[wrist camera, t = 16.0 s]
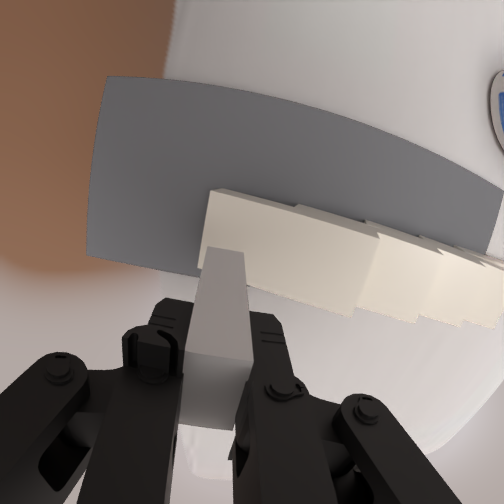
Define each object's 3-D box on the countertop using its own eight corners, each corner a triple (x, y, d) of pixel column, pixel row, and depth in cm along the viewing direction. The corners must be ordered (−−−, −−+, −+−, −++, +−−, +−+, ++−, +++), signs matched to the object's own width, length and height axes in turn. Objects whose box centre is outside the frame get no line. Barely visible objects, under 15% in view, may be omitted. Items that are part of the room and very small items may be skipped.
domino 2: (294, 207, 18) (443, 255, 16) (298, 203, 20) (436, 247, 17) (275, 281, 20) (414, 323, 18) (280, 271, 21) (410, 312, 19)
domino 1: (210, 190, 17) (380, 239, 15) (222, 188, 19) (376, 232, 17) (197, 267, 19) (351, 318, 17) (209, 259, 21) (351, 304, 19)
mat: (109, 77, 16) (107, 76, 16) (501, 190, 20) (504, 191, 20) (88, 253, 20) (86, 255, 20) (457, 312, 25) (459, 314, 24)
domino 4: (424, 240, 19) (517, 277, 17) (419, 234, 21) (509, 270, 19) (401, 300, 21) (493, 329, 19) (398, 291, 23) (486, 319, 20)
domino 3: (366, 223, 19) (487, 267, 16) (365, 219, 20) (478, 260, 18) (343, 291, 20) (459, 327, 18) (344, 282, 22) (453, 316, 20)
